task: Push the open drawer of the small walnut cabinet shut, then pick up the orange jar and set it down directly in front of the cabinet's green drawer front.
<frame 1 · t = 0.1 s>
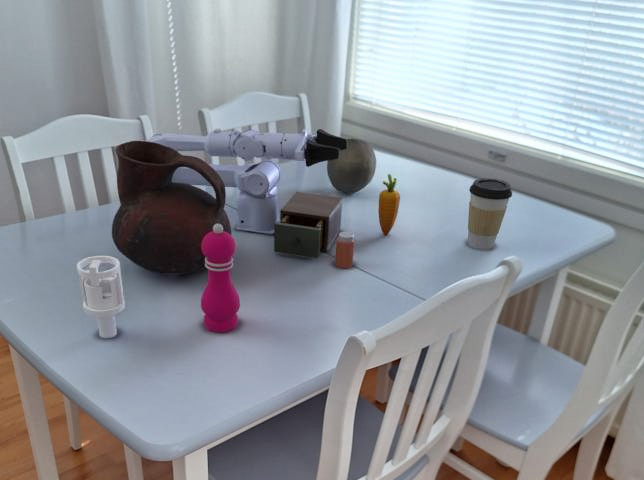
hand: (343, 148, 151), 22 cm above the table, tool horizontal, fingers open, 7 cm apart
cantaloupe: (349, 194, 190), on the table
cabinet: (310, 237, 162), on the table
pepper mill: (221, 325, 126), on the table
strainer: (108, 334, 122), on the table
drawer: (303, 232, 154), point 4 cm above the table, slide at 5.0 cm
carrot: (385, 236, 165), on the table
coffee cup: (480, 245, 163), on the table
jug: (175, 265, 147), on the table
orange jar: (343, 264, 150), on the table
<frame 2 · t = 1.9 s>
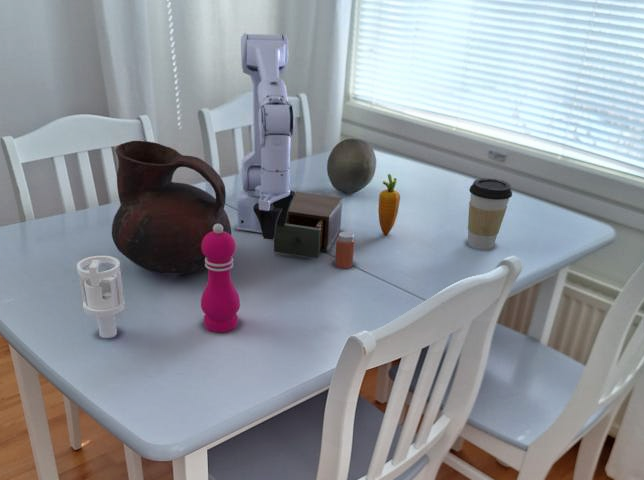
hand: (274, 232, 140), 9 cm above the table, tool pointing down, fingers open, 7 cm apart
nothing on the table moved.
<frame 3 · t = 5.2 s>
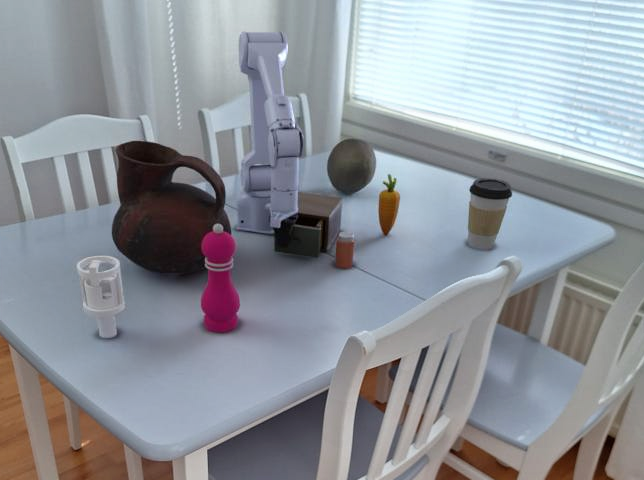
hand: (283, 246, 149), 3 cm above the table, tool pointing down, fingers closed
drawer: (303, 231, 154), point 4 cm above the table, slide at 4.8 cm, touching gripper
everything else where it was.
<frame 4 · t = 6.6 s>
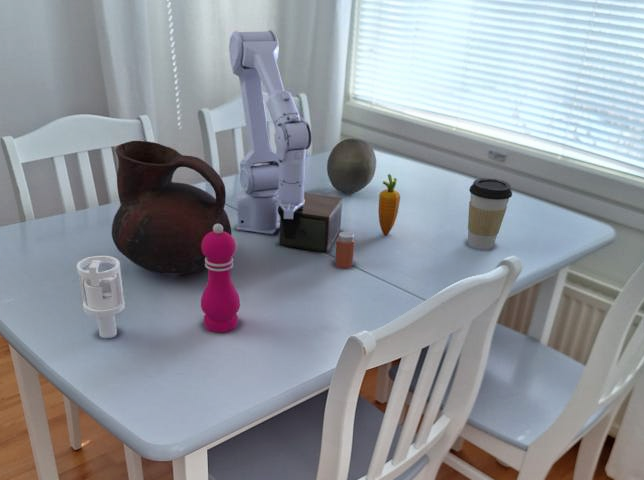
hand: (289, 237, 153), 3 cm above the table, tool pointing down, fingers closed
drawer: (308, 224, 158), point 4 cm above the table, slide at 0.0 cm, touching cabinet, gripper
everything else where it was.
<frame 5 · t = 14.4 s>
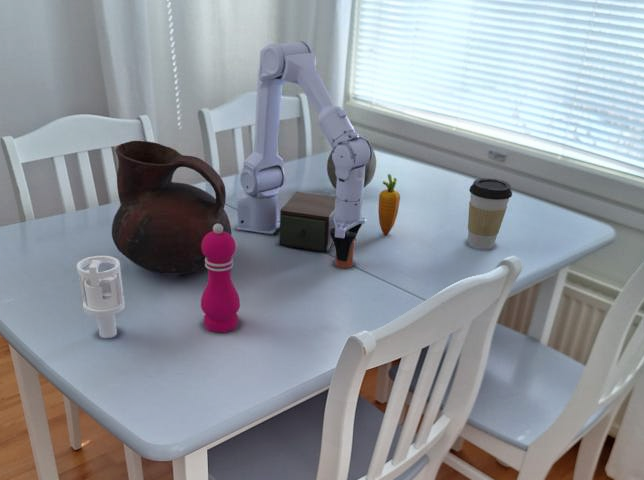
hand: (344, 256, 149), 2 cm above the table, tool pointing down, fingers closed on orange jar, 4 cm apart
drawer: (308, 224, 158), point 4 cm above the table, slide at 0.0 cm, touching cabinet
orange jar: (343, 264, 150), on the table, touching gripper
everything else where it was.
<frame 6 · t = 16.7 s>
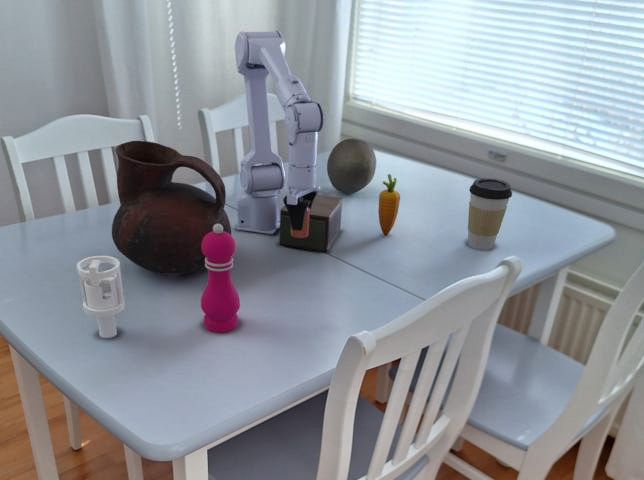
hand: (299, 225, 146), 9 cm above the table, tool pointing down, fingers closed on orange jar, 4 cm apart
orange jar: (299, 234, 147), point 7 cm above the table, touching gripper
everything else where it was.
when the fingers open (2 cm above the table, at t = 19.1 s): orange jar stays where it is, on the table.
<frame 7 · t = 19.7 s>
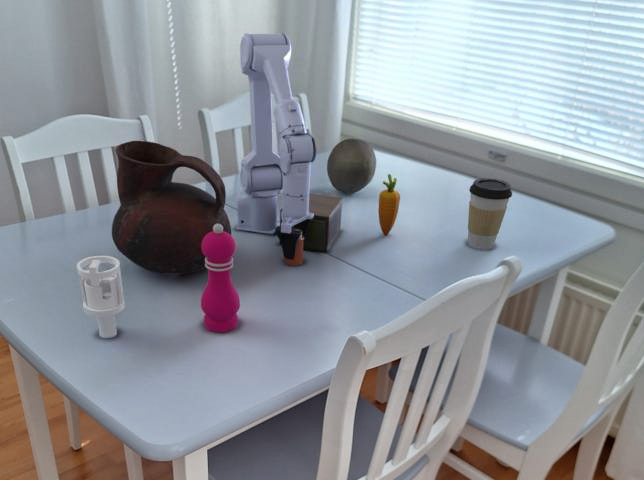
hand: (294, 251, 149), 2 cm above the table, tool pointing down, fingers open, 7 cm apart
orange jar: (293, 261, 150), on the table
everything else where it was.
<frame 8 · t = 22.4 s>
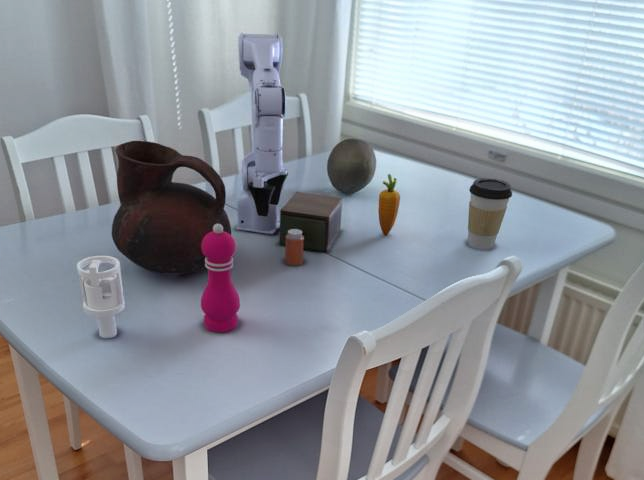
hand: (268, 209, 148), 10 cm above the table, tool pointing down, fingers open, 7 cm apart
nothing on the table moved.
at the end: drawer slide at 0.0 cm; orange jar inside the target area in the drawer (0.8 cm from its centre), point 0.0 cm above the cabinet's base; orange jar tilted 0° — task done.
